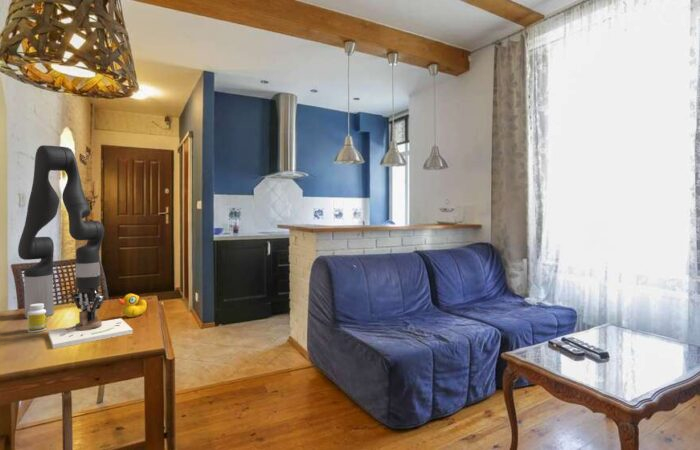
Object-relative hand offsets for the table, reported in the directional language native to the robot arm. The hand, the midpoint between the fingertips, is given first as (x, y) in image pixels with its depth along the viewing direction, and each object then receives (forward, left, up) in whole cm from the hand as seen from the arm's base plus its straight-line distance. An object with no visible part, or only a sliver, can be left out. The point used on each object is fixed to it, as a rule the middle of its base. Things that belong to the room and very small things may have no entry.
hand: (88, 320), depth 138 cm
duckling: (-10, +17, -4) cm, 20 cm away
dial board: (+4, 0, -4) cm, 6 cm away
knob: (+1, -2, -2) cm, 3 cm away
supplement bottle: (-13, -14, -4) cm, 20 cm away
